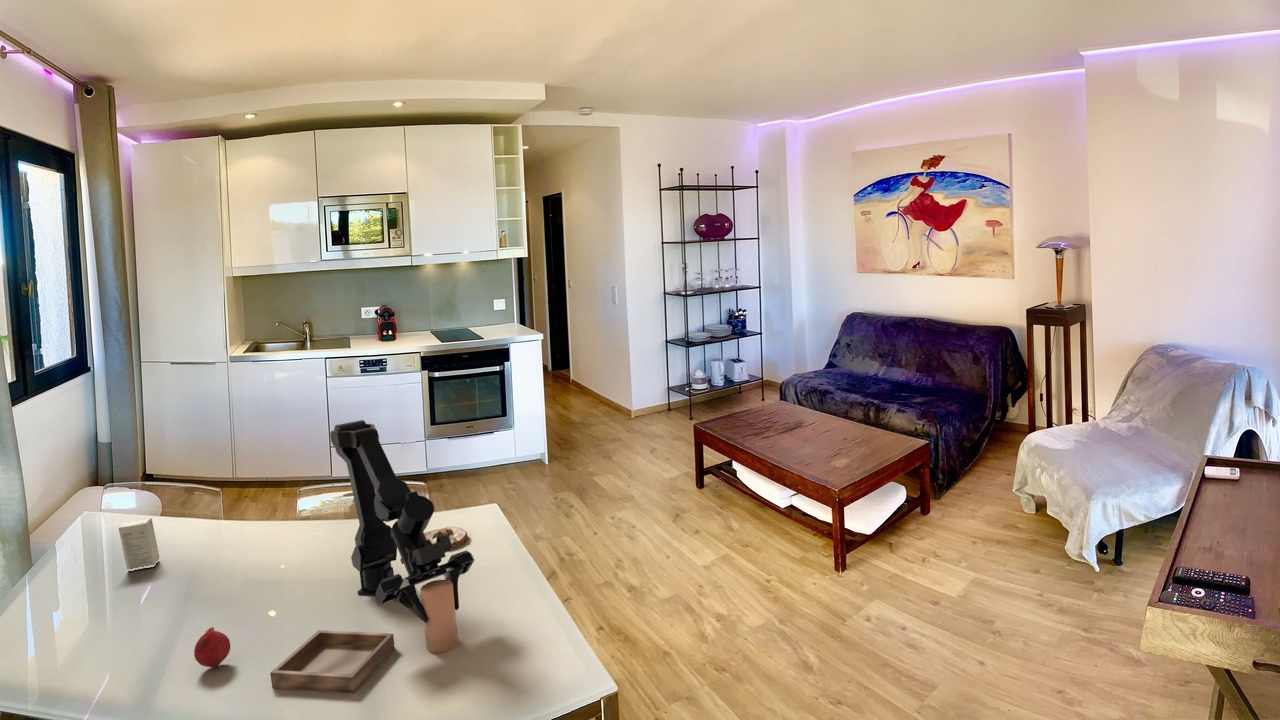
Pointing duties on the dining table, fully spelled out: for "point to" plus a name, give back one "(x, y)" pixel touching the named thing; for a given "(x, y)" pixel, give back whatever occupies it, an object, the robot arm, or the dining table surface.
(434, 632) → the terracotta cylinder
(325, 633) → the box
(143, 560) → the skincare box
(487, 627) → the dining table surface
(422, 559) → the robot arm
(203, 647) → the onion
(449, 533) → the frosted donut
